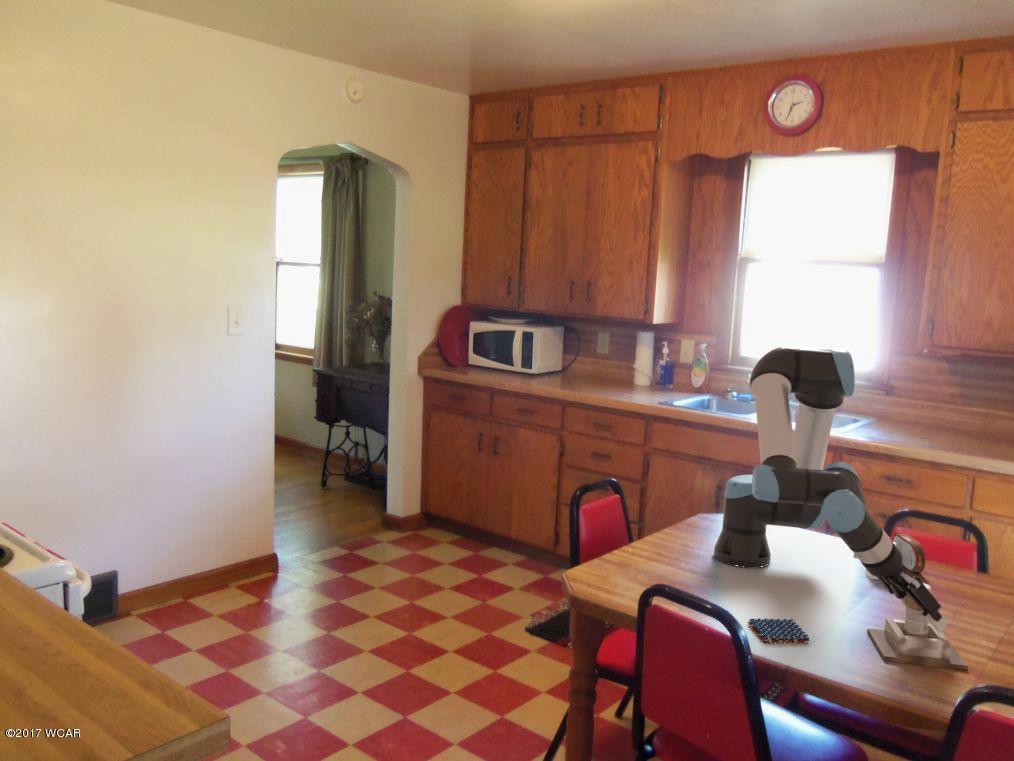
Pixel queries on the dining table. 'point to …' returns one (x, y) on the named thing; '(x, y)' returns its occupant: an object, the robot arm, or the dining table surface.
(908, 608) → the sprinkles bottle
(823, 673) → the dining table surface
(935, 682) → the dining table surface
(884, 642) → the frame
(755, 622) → the woven mat
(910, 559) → the tin
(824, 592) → the dining table surface
